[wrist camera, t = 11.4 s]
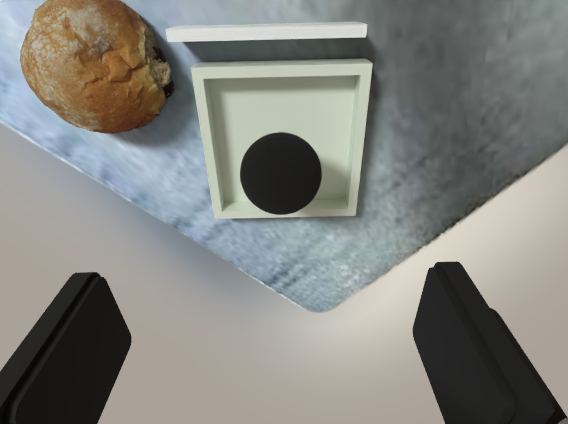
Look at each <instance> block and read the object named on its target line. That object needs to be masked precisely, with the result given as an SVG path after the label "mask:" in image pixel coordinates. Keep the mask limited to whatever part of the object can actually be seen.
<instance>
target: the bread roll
mask: <svg viewBox="0 0 568 424" xmlns="http://www.w3.org/2000/svg"><path fill="white" fill-rule="evenodd" d="M31 23H32V26H31V27H30V29H29V30H28V32H27V34H26V36H25V40H24V42H23V45H22V49H21V55H20V62H21V68H22V71H23V74H24V76H25V79H26V81H27V83H28V85H29V87H30V88H31V89H32V91H33V92H34V93H35V94H36V96H37V97H38V98H39V99H40V101H41V102H42V103H43V104H44V105H45V106H47V107H49V108H50V109H51V110H53V111H54V112H55V113H56V114H57V115H58V116H59V117H61V118H62V119H63V120H65V121H66V122H68V123H70V124H73V125H75V126H76V127H80V128H84V129H87V130H89V131H94V132H100V133H118V132H125V131H130V130H132V129H133V128H136V129H137V128H140V127H142V126H145V125H147V124H149V123H150V122H152V120H153V119H154V117H155V116H159V114H160V110H161V108H163V106H164V105H165V103H166V102H167V99H168V97H170V96H171V95H172V94H173V92H174V83H173V81H172V80H171V79H170V76H171V69H170V67H169V64H168V63H167V62H166V63H165V61H166V56H165V55H164V54H163V52H162V51H161V50H160V49H159V48H158V47H157V44H156V41H155V39H154V36H153V34H152V32H151V31H150V29H149V28H148V27H147V26H146V24H145V23H144V22H143V21H142V19H141V17H140V15H139V14H137V13H136V12H135V11H134V10H132V9H131V8H130V7H129V6H127V5H126V4H125V3H123V2H121V1H120V0H47V1H46V2H44V3H43V4H42V5H41V6H40V7H38V9H35V12H34V16H33V20H32V21H31Z"/></svg>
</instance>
